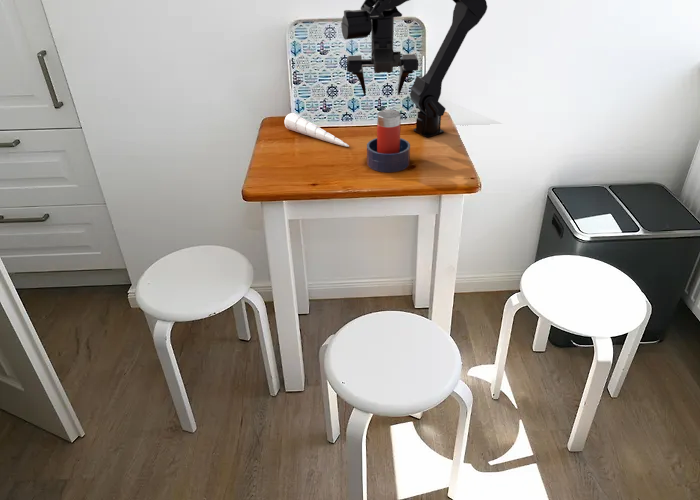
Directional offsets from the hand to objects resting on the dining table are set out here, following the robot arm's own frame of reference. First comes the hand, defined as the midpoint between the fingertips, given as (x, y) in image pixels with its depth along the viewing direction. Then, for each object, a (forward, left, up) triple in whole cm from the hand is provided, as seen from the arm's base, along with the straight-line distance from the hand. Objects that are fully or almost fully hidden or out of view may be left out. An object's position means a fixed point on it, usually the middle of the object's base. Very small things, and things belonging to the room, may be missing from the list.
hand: (381, 94), depth 157 cm
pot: (+7, +13, -13) cm, 20 cm away
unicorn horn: (+14, -12, -13) cm, 23 cm away
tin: (+7, +13, -13) cm, 20 cm away
